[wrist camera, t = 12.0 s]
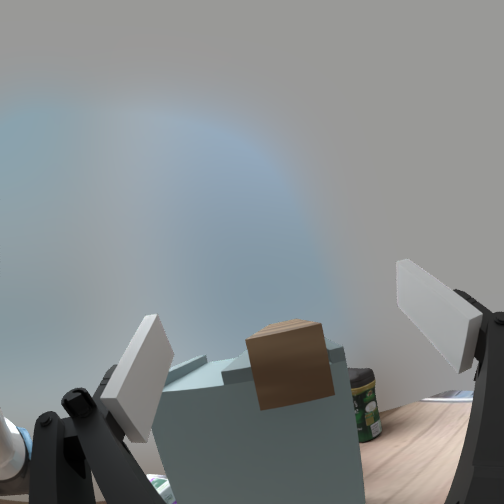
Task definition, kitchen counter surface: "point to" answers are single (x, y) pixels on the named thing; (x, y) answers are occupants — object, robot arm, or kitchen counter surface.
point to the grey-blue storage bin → (256, 438)
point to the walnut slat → (290, 364)
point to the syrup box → (162, 487)
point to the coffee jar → (365, 403)
